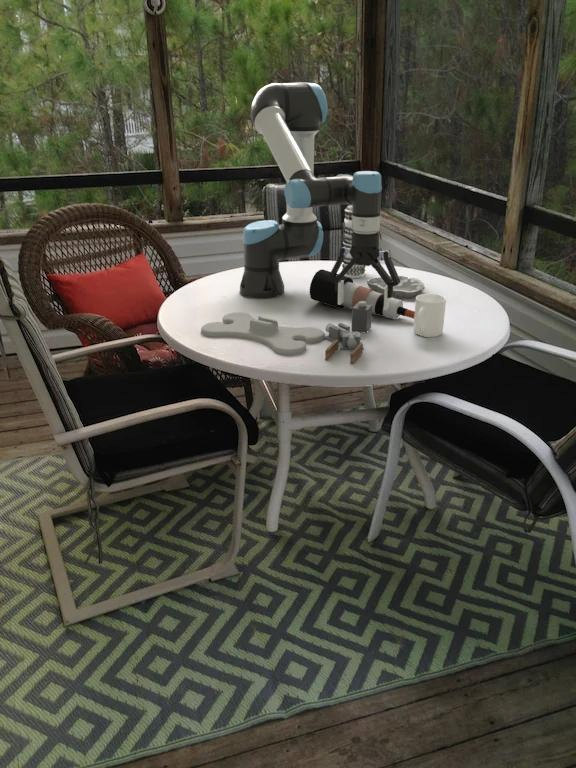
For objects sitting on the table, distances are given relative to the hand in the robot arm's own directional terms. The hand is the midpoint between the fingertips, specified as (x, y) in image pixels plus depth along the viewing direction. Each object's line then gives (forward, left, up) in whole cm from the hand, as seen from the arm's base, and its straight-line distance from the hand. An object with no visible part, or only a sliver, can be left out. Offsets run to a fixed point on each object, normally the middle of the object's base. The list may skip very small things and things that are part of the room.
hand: (363, 306), depth 188 cm
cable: (-4, +15, -8) cm, 17 cm away
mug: (+18, +3, -7) cm, 19 cm away
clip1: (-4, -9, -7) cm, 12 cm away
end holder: (+2, -21, -7) cm, 22 cm away
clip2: (+1, -14, -7) cm, 16 cm away
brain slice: (0, +40, -8) cm, 41 cm away
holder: (-25, -14, -8) cm, 30 cm away
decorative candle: (-20, +53, -7) cm, 58 cm away
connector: (0, 0, -7) cm, 7 cm away
